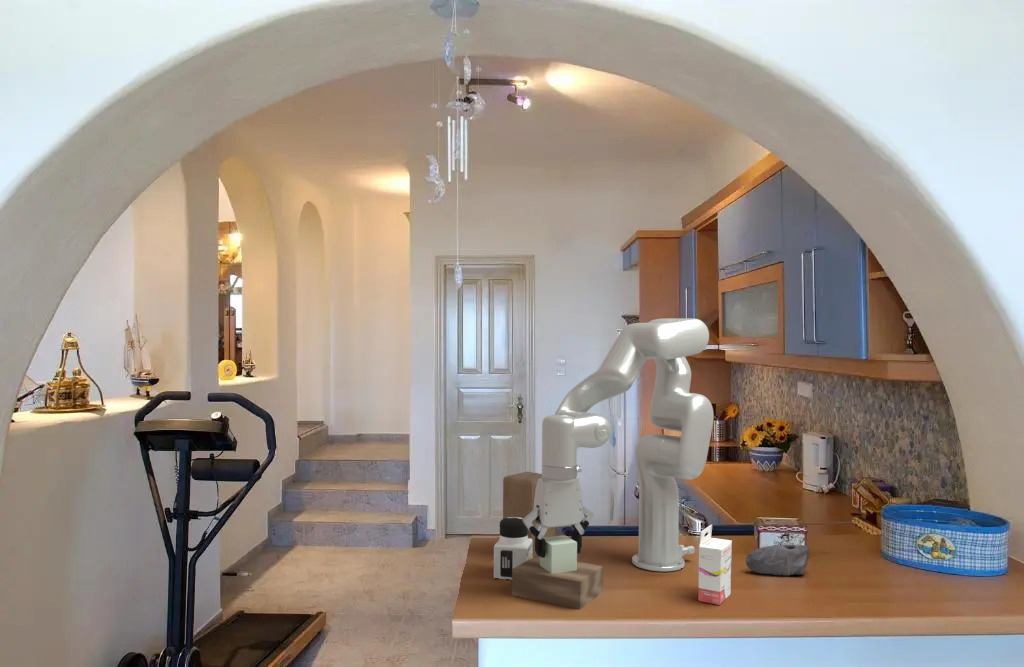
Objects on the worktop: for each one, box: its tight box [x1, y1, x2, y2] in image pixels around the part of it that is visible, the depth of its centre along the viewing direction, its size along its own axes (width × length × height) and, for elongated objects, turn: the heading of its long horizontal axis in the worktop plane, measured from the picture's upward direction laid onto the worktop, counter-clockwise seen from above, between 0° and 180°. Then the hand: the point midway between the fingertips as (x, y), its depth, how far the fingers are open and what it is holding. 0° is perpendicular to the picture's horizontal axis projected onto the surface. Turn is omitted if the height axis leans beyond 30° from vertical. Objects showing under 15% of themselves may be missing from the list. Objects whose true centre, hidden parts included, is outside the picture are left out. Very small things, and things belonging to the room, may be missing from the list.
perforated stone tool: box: [745, 544, 810, 577], centre depth 178 cm, size 15×5×7 cm, turn 85°
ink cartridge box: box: [697, 524, 733, 606], centre depth 162 cm, size 9×5×15 cm, turn 149°
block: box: [502, 471, 556, 558], centre depth 192 cm, size 10×10×20 cm
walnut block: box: [511, 555, 604, 610], centre depth 164 cm, size 12×16×6 cm
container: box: [493, 517, 533, 581], centre depth 176 cm, size 8×8×13 cm
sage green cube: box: [540, 534, 578, 573], centre depth 164 cm, size 6×6×6 cm
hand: (558, 553), depth 164 cm, fingers open, 8 cm apart
